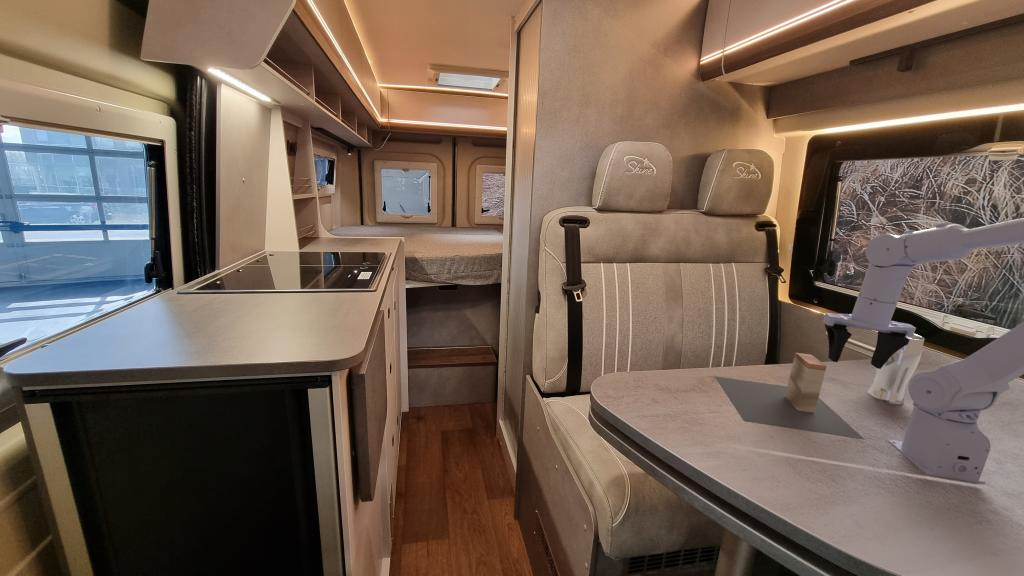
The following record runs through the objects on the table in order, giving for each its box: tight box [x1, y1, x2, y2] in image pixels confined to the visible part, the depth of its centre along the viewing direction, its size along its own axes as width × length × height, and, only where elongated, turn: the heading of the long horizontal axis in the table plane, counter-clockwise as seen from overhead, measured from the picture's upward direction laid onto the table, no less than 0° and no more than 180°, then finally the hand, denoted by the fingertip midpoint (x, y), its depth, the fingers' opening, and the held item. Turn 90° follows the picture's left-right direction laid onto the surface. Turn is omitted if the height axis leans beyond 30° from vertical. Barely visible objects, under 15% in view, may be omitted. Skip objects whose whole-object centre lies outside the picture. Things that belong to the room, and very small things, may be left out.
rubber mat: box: [715, 376, 865, 440], centre depth 86 cm, size 20×20×1 cm
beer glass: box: [867, 333, 925, 406], centre depth 91 cm, size 7×7×15 cm
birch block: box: [785, 352, 827, 413], centre depth 85 cm, size 6×3×10 cm, turn 169°
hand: (854, 363), depth 83 cm, fingers open, 7 cm apart
